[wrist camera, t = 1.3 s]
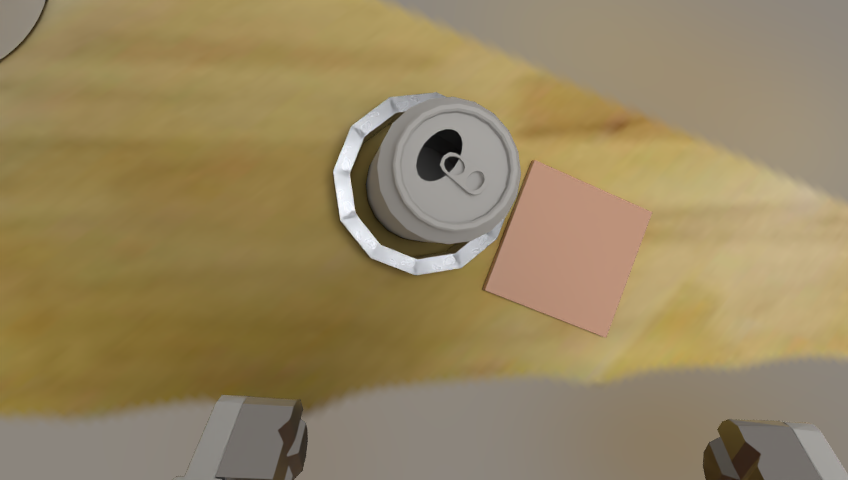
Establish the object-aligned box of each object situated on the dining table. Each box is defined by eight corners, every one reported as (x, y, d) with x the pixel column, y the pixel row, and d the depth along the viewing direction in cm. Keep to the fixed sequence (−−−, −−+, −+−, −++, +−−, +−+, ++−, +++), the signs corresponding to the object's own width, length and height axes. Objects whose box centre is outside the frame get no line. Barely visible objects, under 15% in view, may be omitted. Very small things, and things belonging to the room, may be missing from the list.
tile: (482, 289, 38) (484, 290, 37) (531, 161, 38) (534, 159, 37) (602, 336, 39) (606, 337, 39) (647, 212, 40) (652, 212, 39)
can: (408, 112, 36) (444, 54, 25) (490, 179, 38) (562, 154, 26) (343, 196, 36) (347, 178, 24) (428, 262, 37) (472, 276, 25)
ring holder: (309, 233, 35) (307, 233, 32) (372, 78, 36) (375, 65, 33) (463, 292, 37) (474, 298, 34) (520, 144, 38) (535, 137, 35)
